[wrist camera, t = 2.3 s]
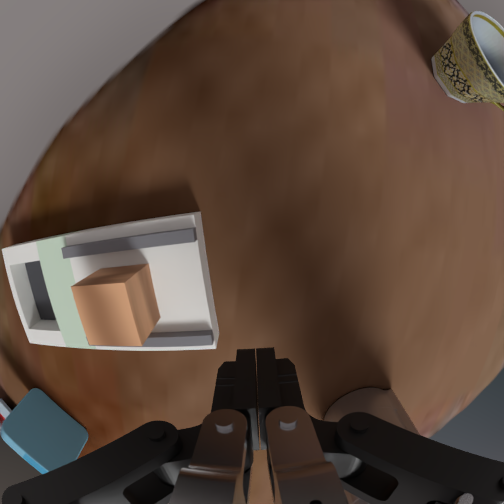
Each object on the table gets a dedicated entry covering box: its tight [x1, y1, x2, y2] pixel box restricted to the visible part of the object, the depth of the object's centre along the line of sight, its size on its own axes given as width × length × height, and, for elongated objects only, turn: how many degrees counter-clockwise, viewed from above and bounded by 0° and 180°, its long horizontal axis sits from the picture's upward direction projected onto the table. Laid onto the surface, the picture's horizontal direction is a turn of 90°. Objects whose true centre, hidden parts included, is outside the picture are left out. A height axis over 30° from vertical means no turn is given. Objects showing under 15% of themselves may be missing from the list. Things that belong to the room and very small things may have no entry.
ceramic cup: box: [431, 11, 504, 111], centre depth 16 cm, size 13×10×10 cm
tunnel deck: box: [2, 211, 219, 351], centre depth 24 cm, size 24×12×4 cm, turn 96°
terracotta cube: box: [71, 263, 161, 346], centre depth 20 cm, size 5×5×5 cm
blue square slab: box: [1, 388, 88, 474], centre depth 25 cm, size 12×4×12 cm, turn 45°
